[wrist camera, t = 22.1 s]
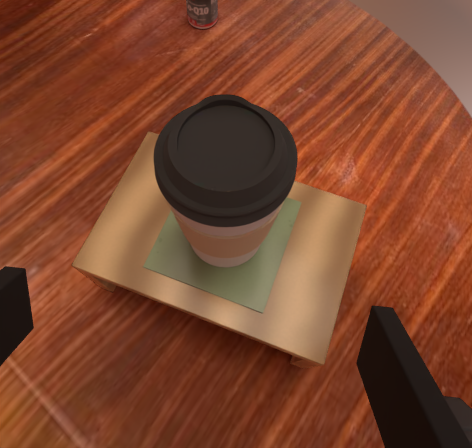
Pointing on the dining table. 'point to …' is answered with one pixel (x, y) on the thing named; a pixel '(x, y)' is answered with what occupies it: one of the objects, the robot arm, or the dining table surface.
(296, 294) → the shelf
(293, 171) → the coffee cup
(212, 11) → the pill bottle
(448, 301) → the dining table surface
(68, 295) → the dining table surface
